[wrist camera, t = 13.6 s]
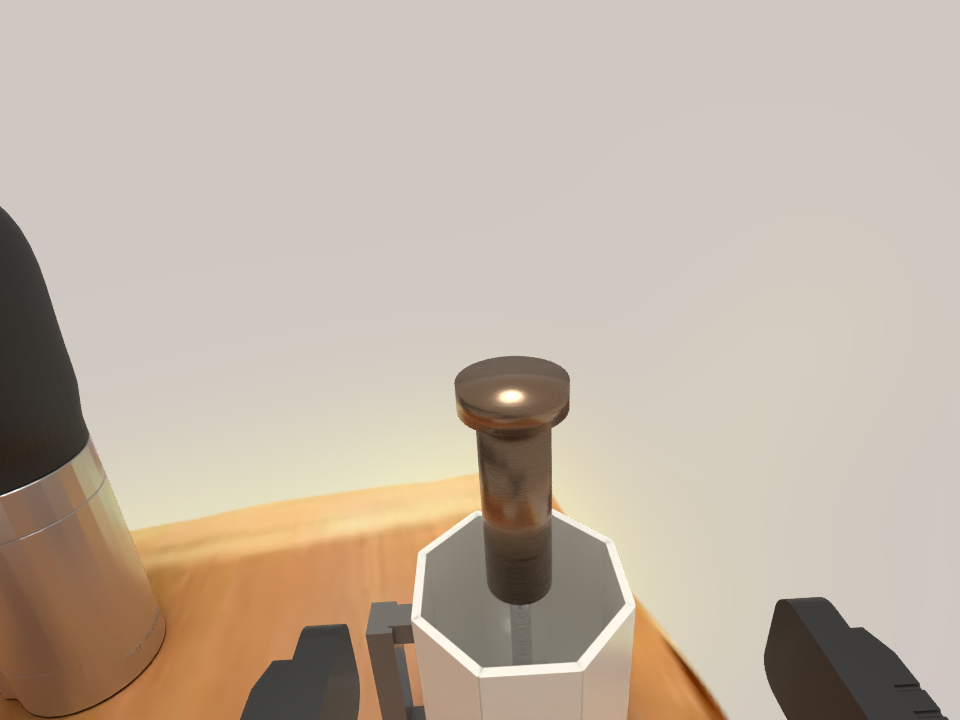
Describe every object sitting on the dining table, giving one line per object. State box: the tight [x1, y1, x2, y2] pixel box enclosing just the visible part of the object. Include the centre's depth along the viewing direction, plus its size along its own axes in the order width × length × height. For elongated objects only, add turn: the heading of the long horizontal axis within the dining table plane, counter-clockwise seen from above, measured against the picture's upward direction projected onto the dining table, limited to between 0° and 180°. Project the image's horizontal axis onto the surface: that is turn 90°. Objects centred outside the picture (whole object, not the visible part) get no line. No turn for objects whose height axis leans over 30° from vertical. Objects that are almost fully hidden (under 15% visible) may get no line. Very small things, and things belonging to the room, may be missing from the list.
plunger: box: [455, 356, 570, 666], centre depth 25 cm, size 8×8×23 cm
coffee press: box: [366, 509, 636, 720], centre depth 28 cm, size 13×16×16 cm
